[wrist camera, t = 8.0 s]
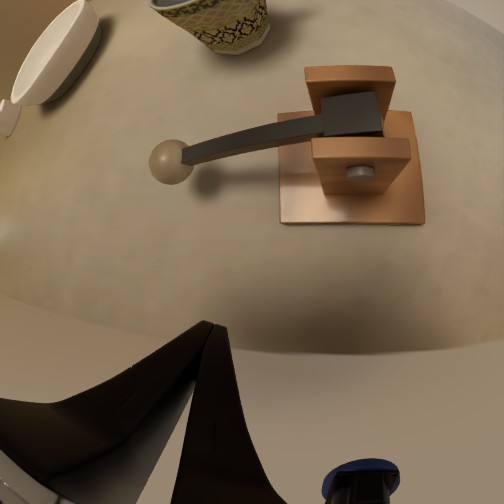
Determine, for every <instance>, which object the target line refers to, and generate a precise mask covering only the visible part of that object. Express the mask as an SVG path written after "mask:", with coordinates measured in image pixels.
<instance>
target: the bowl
mask: <svg viewBox="0 0 504 504" xmlns="http://www.w3.org/2000/svg"><path fill="white" fill-rule="evenodd" d="M101 37H102V30H101V27H100V23H99V19H98V16H97V14H96V13H95V11H94V9H93V7H92V6H91V5H90V4H89V3H87V2H86V1H85V0H78V1H76V2H74V3H73V4H71V5H70V6H69V7H67V8H66V9H65V10H64V11H63V12H62V13H60V14H59V15H58V17H56V18H55V20H54V21H52V23H51V24H50V25H49V26H48V27H47V28H46V30H45V31H44V32H43V33H42V35H41V36H40V37H39V39H38V40H37V41H36V43H35V44H34V46H33V48H32V49H31V50H30V52H29V54H28V55H27V57H26V59H25V61H24V63H23V65H22V67H21V69H20V71H19V73H18V75H17V78H16V80H15V83H14V86H13V90H12V95H11V101H12V103H13V104H17V105H22V106H31V105H39V104H43V103H46V102H50V101H54V100H57V99H58V98H59V97H61V96H62V95H63V94H64V93H65V92H66V91H67V90H68V89H69V88H70V87H71V86H72V85H73V83H74V82H75V81H76V80H77V79H78V77H79V76H80V75H81V73H82V72H83V71H84V69H85V68H86V66H87V65H88V63H89V62H90V60H91V58H92V57H93V55H94V53H95V51H96V50H97V48H98V45H99V43H100V41H101Z"/></svg>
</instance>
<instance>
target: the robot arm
mask: <svg viewBox="0 0 504 504" xmlns="http://www.w3.org/2000/svg"><path fill="white" fill-rule="evenodd" d="M193 391H194V392H193ZM192 393H193V397H192V402H191V407H190V412H189V417H188V422H187V427H186V432H185V437H184V442H183V448H182V454H181V458H180V464H179V468H178V473H177V477H176V482H175V486H174V490H173V494H172V499H171V503H170V504H287V503H286V502H285V501H284V500H283V499H282V498H281V497H280V496H279V495H278V494H277V492H276V491H275V490H274V488H273V487H272V485H271V484H270V482H269V480H268V478H267V476H266V474H265V472H264V469H263V467H262V465H261V462H260V460H259V458H258V455H257V453H256V451H255V448H254V446H253V443H252V440H251V438H250V435H249V432H248V429H247V426H246V422H245V418H244V414H243V410H242V405H241V401H240V396H239V391H238V386H237V381H236V375H235V370H234V365H233V360H232V354H231V349H230V343H229V338H228V332H227V328H226V327H225V326H222V325H218V324H215V325H214V324H213V323H211V322H208V321H205V320H202V321H200V322H199V323H197V324H196V325H194V326H193V327H191V328H190V329H188V330H187V331H185V332H184V333H182V334H181V335H179V336H178V337H176V338H175V339H173V340H172V341H170V342H169V343H167V344H165V345H164V346H162V347H161V348H159V349H158V350H156V351H155V352H153V353H152V354H150V355H149V356H147V357H145V358H144V359H142V360H141V361H139V362H138V363H136V364H134V365H133V366H132V368H131V367H130V368H128V369H126V370H125V371H123V372H122V373H120V374H118V375H116V376H115V377H113V378H111V379H109V380H107V381H105V382H103V383H101V384H99V385H97V386H95V387H93V388H90V389H89V390H86V391H84V392H81V393H79V394H77V395H74V396H72V397H70V398H67V399H65V400H62V401H59V402H54V403H34V402H24V401H17V400H10V399H4V398H0V504H136V502H137V500H138V498H139V496H140V494H141V492H142V491H143V489H144V487H145V485H146V483H147V481H148V478H149V477H150V475H151V473H152V471H153V469H154V467H155V465H156V463H157V461H158V459H159V457H160V456H161V454H162V452H163V450H164V448H165V446H166V444H167V442H168V440H169V438H170V436H171V434H172V432H173V430H174V428H175V426H176V424H177V422H178V420H179V418H180V416H181V414H182V412H183V410H184V408H185V406H186V404H187V403H188V400H189V398H190V397H191V394H192ZM399 474H400V473H399V470H397V469H395V470H382V471H338V472H336V473H335V474H334V477H333V480H332V483H331V487H330V490H329V493H328V496H327V499H326V501H325V504H390V501H389V500H390V498H389V493H390V492H391V490H392V488H393V486H394V484H395V482H396V480H397V478H398V477H399ZM338 475H341V476H338Z"/></svg>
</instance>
